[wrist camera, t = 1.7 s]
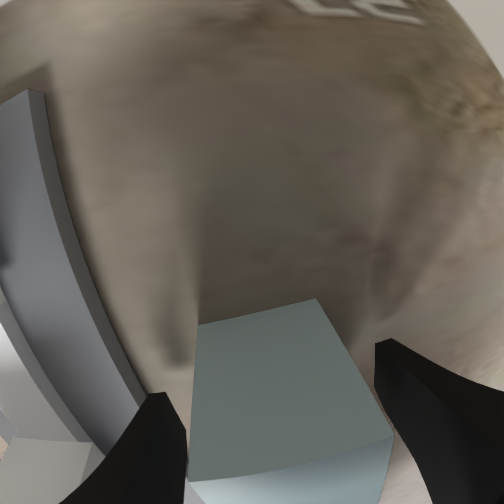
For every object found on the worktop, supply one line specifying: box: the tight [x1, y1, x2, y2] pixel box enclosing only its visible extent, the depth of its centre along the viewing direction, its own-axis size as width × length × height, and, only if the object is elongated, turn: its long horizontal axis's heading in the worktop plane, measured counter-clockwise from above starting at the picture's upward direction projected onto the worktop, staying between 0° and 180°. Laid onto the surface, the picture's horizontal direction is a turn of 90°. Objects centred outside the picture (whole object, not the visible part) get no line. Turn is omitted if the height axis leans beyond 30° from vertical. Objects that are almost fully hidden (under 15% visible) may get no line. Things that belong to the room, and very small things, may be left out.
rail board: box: [0, 89, 205, 504], centre depth 8 cm, size 22×10×6 cm, turn 12°
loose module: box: [188, 298, 395, 504], centre depth 8 cm, size 4×4×6 cm
